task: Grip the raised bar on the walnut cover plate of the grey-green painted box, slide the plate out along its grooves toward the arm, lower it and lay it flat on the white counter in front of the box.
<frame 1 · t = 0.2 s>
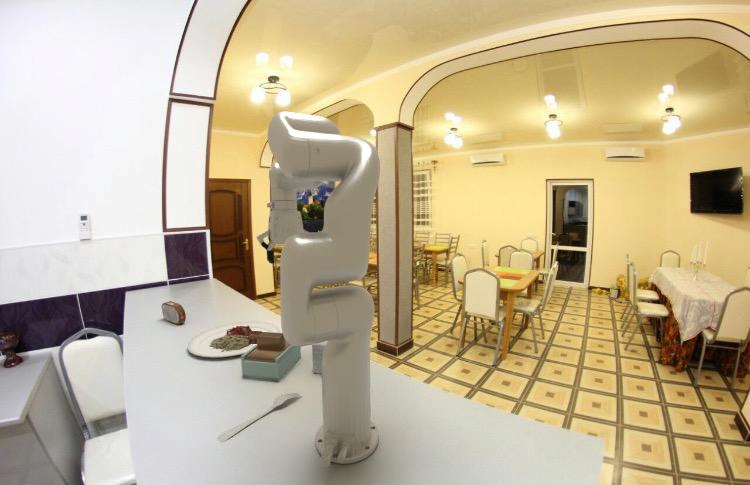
hand: (286, 261, 99), 30 cm above the table, tool pointing down, fingers open, 9 cm apart
tin: (174, 322, 131), on the table
medicine box: (325, 367, 93), on the table
plated food: (236, 342, 112), on the table
slide box: (273, 367, 93), on the table
cover plate: (271, 351, 92), point 5 cm above the table, touching slide box
fork: (264, 417, 71), on the table
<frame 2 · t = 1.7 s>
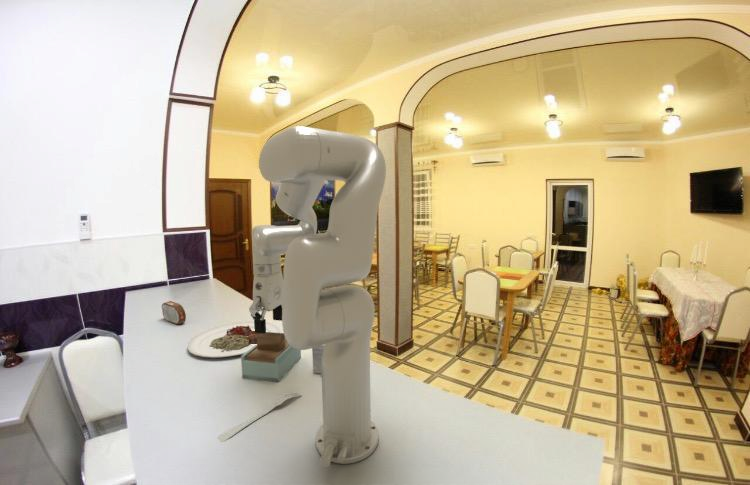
hand: (269, 326, 91), 13 cm above the table, tool pointing down, fingers open, 9 cm apart
nothing on the table moved.
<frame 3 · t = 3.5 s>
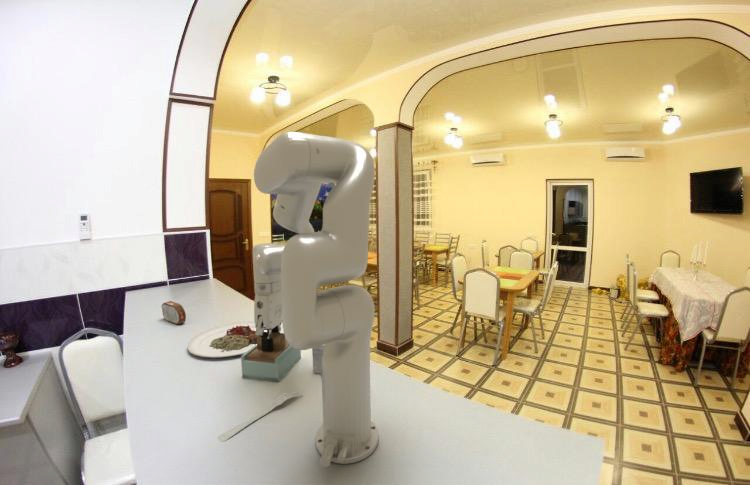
hand: (271, 347, 92), 6 cm above the table, tool pointing down, fingers closed on cover plate, 3 cm apart
cover plate: (271, 351, 92), point 5 cm above the table, touching gripper, slide box
everything else where it was.
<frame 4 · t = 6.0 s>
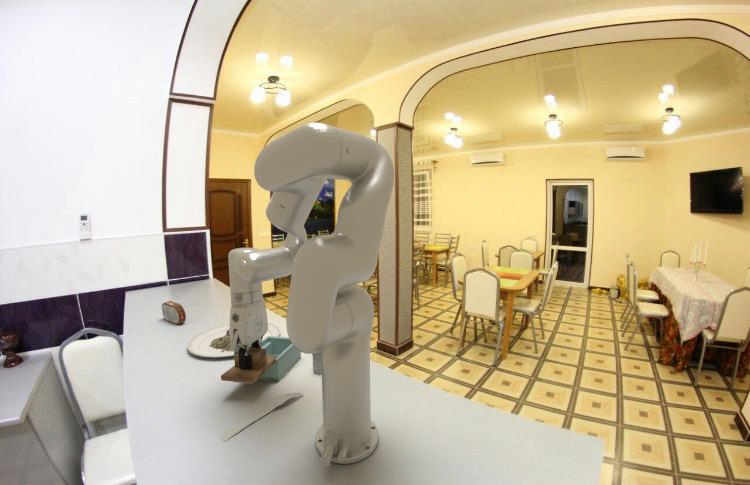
hand: (250, 364, 82), 6 cm above the table, tool pointing down, fingers closed on cover plate, 3 cm apart
cover plate: (251, 369, 82), point 5 cm above the table, touching gripper
everything else where it was.
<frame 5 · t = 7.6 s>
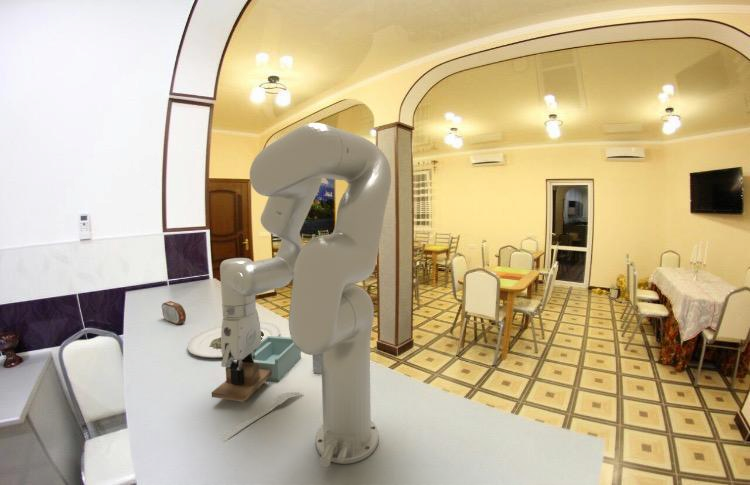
hand: (243, 378, 79), 4 cm above the table, tool pointing down, fingers closed on cover plate, 3 cm apart
cover plate: (243, 385, 79), point 3 cm above the table, touching gripper
everything else where it was.
when the fingers open (2 cm above the table, at t = 8.6 s): cover plate drops 1 cm, on the table.
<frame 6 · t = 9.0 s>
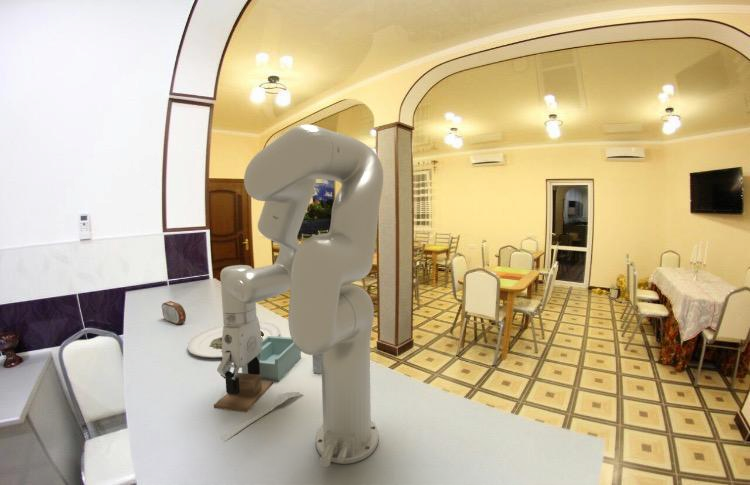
hand: (244, 383, 79), 3 cm above the table, tool pointing down, fingers open, 8 cm apart
cover plate: (245, 396, 79), on the table
everything else where it was.
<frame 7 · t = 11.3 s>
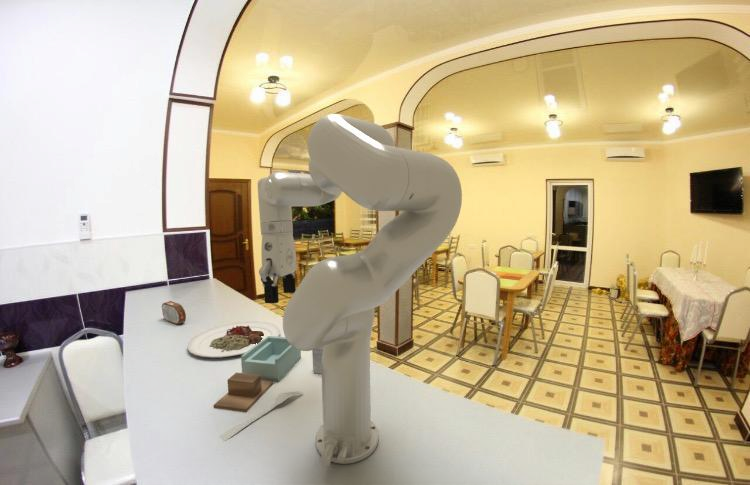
hand: (281, 297, 78), 25 cm above the table, tool pointing down, fingers open, 9 cm apart
nothing on the table moved.
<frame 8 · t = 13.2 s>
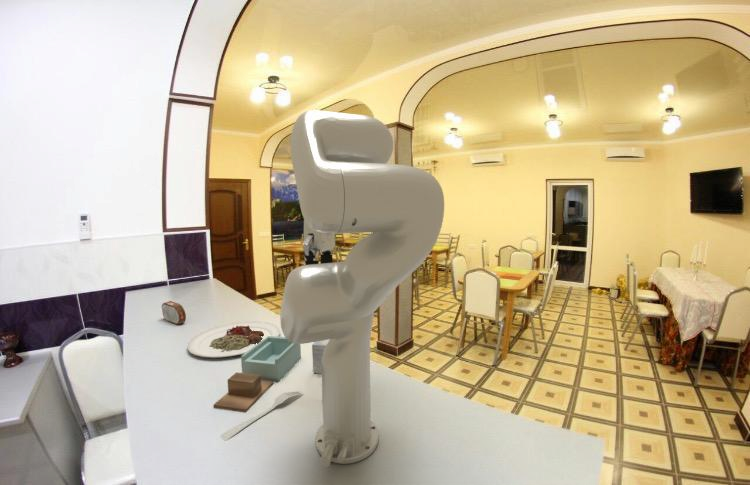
hand: (320, 272, 80), 30 cm above the table, tool pointing down, fingers open, 9 cm apart
nothing on the table moved.
at the end: cover plate on the table; cover plate inside the target area (0.5 cm from its centre), on the table; cover plate tilted 0° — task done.
